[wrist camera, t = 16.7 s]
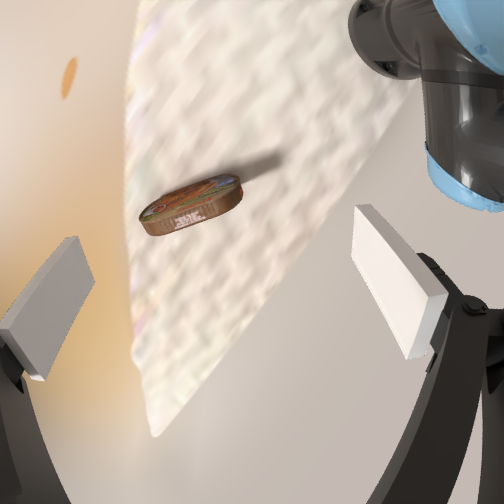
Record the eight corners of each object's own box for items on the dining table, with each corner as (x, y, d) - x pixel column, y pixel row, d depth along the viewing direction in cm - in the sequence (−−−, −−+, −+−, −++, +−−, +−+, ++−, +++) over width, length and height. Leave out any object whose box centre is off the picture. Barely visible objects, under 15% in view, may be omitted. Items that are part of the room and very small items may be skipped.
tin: (237, 168, 44) (239, 185, 37) (244, 187, 46) (247, 208, 38) (145, 202, 46) (130, 225, 38) (153, 219, 47) (140, 245, 40)
